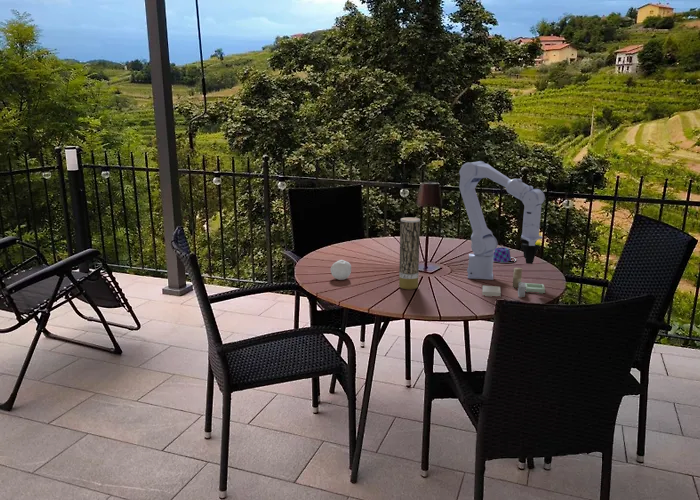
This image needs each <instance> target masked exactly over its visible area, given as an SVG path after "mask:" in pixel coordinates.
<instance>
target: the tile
mask: <svg viewBox="0 0 700 500" xmlns="http://www.w3.org/2000/svg"><path fill="white" fill-rule="evenodd" d="M501 293H502V291H501V286H496V285H495V286H493V285H482V293H481V294H482V295H485V296H484V297H492V296H500V297H501V295H502V294H501Z"/></svg>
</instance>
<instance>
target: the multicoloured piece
mask: <svg viewBox="0 0 700 500" xmlns="http://www.w3.org/2000/svg"><path fill="white" fill-rule="evenodd" d="M511 258H514V259H515V261H514V262H516V261H517V259H516V258H515V257H513V256H511V252H510V248H507V247H502V246H501V247H497V248H496V249H495V250H494V256H493V263H494V262H495V263H499V264H500V263H503V264H509V263H511V262H508V261H512V260H511Z"/></svg>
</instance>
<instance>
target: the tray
mask: <svg viewBox="0 0 700 500" xmlns="http://www.w3.org/2000/svg"><path fill="white" fill-rule="evenodd" d="M525 286H526V287H525V290H526V291H525V293H528V292H539V293H538V294H543V293H545V294H546V288H545V285H544V283H531V282H529V283H528V282H525Z"/></svg>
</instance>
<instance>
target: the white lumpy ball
mask: <svg viewBox="0 0 700 500" xmlns="http://www.w3.org/2000/svg"><path fill="white" fill-rule="evenodd" d="M351 272H352V265H351V263H350V262H349V261H346V260H344V259H338V260H337V261H335V262H334V263H332V265H331V266H330V275H332V277H333V278H334V279H336V280H339V281H344V280H347V279H348V278H349V277H350V275H351Z"/></svg>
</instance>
